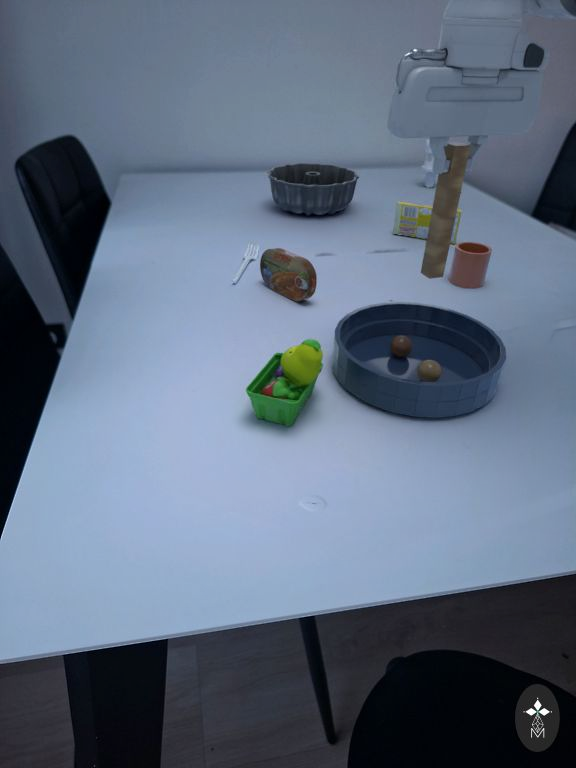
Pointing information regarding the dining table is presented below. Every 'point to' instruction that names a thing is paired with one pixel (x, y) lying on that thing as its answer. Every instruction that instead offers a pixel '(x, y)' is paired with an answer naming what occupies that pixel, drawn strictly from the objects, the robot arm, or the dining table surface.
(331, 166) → the bundt pan
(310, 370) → the fruit basket
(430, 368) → the bead
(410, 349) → the bead
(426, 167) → the white tall piece
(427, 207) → the candy box
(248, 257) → the fork
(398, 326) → the round cake pan
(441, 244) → the stirring stick
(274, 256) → the tin
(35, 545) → the dining table surface
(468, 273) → the pot
